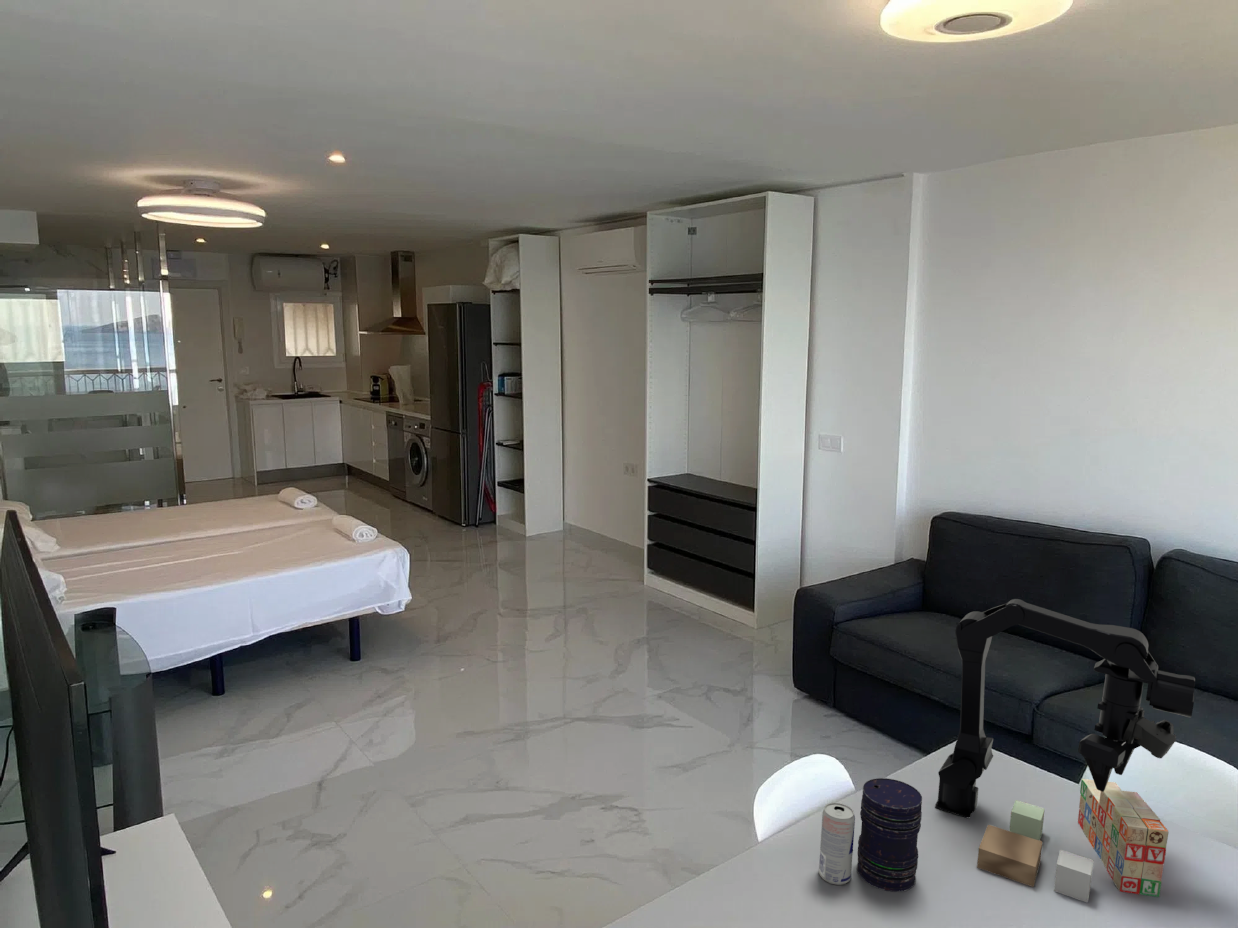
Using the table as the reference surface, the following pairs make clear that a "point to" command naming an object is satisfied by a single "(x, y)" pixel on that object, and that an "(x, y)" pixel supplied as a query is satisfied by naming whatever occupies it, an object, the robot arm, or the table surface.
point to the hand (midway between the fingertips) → (1109, 781)
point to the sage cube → (1027, 820)
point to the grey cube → (1073, 875)
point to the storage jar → (889, 834)
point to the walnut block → (1010, 855)
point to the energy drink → (836, 843)
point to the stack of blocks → (1124, 836)
